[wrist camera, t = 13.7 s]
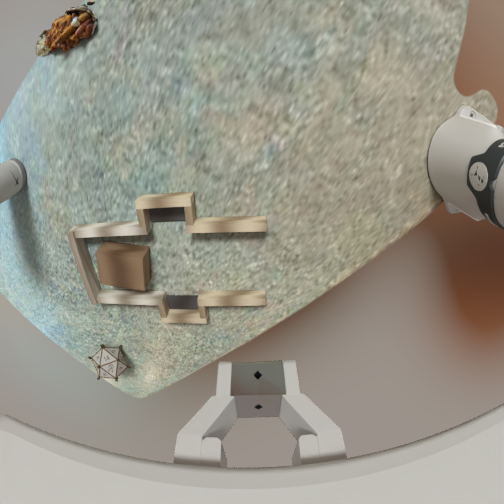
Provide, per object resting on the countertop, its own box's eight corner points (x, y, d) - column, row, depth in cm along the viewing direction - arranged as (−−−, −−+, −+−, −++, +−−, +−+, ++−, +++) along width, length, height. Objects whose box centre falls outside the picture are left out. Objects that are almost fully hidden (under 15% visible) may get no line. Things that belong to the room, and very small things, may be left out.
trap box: (265, 189, 39) (267, 196, 37) (264, 313, 50) (265, 325, 48) (69, 202, 39) (60, 209, 36) (104, 310, 50) (98, 320, 48)
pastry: (36, 37, 25) (24, 36, 21) (95, -2, 23) (84, -8, 20) (43, 70, 28) (29, 70, 25) (102, 31, 27) (91, 27, 23)
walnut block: (149, 245, 44) (142, 259, 40) (151, 276, 47) (144, 291, 43) (105, 240, 43) (95, 252, 39) (109, 270, 46) (100, 283, 42)
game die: (113, 332, 59) (89, 338, 49) (142, 353, 58) (121, 364, 48) (100, 361, 58) (76, 370, 48) (127, 382, 57) (106, 395, 47)
